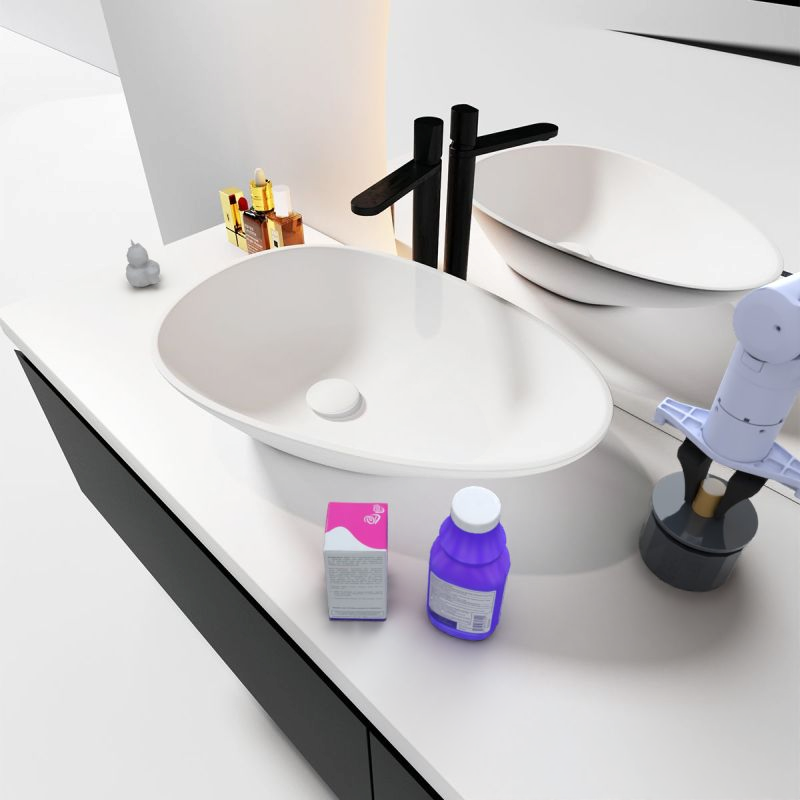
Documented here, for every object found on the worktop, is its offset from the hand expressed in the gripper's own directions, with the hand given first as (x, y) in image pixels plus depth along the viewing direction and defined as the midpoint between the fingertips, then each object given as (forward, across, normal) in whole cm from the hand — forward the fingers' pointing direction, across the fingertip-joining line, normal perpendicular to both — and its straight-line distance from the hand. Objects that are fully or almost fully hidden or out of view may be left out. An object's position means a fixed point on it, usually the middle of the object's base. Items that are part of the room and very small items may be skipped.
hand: (706, 504), depth 69 cm
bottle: (+8, +12, +22) cm, 26 cm away
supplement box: (+8, +21, +28) cm, 36 cm away
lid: (+1, 0, 0) cm, 1 cm away
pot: (+8, 0, 0) cm, 8 cm away
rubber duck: (+8, +88, +12) cm, 89 cm away
